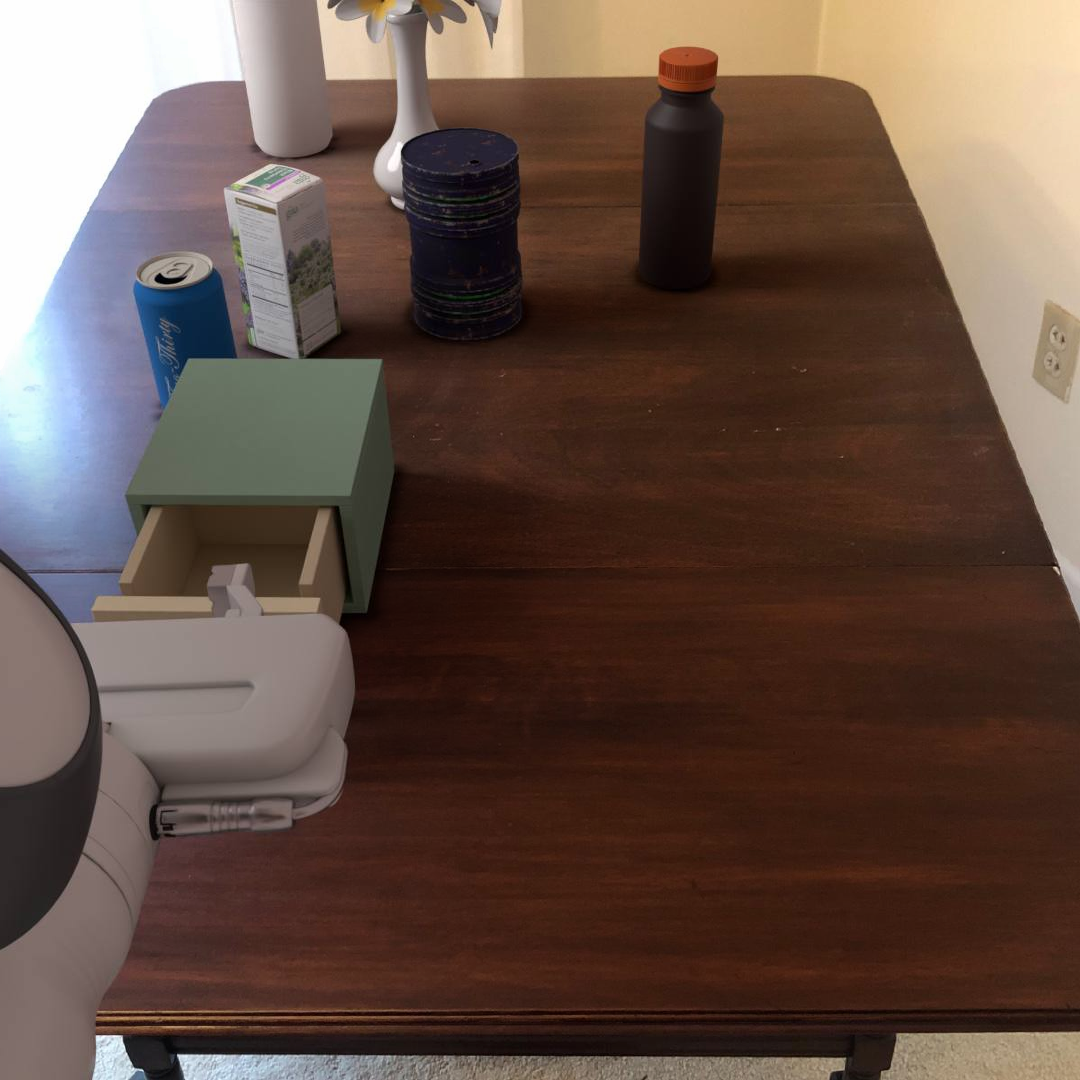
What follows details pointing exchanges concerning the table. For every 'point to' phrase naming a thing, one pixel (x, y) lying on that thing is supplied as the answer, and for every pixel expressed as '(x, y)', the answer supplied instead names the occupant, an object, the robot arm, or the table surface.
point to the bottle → (681, 171)
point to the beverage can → (181, 315)
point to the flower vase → (409, 67)
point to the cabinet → (277, 447)
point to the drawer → (232, 561)
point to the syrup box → (284, 260)
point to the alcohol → (284, 75)
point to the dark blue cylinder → (463, 231)
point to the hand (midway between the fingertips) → (121, 581)
